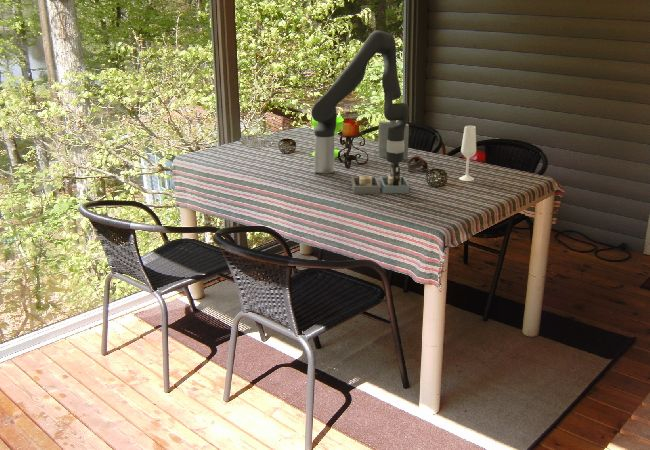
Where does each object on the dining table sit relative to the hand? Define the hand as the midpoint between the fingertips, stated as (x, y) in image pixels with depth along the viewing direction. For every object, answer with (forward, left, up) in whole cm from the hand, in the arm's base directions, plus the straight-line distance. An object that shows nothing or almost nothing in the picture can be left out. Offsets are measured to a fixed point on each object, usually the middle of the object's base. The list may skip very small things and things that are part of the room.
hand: (394, 186), depth 318 cm
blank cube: (-13, 0, -1) cm, 13 cm away
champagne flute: (+35, +14, -2) cm, 38 cm away
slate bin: (0, 0, -1) cm, 1 cm away
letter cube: (0, 0, -1) cm, 1 cm away
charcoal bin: (-13, 0, -1) cm, 13 cm away
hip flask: (+6, +52, -2) cm, 52 cm away
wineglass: (-26, +60, -2) cm, 65 cm away
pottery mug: (+15, +29, -2) cm, 33 cm away
